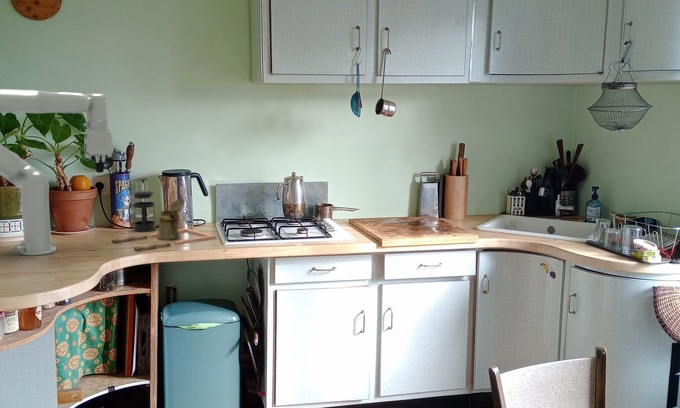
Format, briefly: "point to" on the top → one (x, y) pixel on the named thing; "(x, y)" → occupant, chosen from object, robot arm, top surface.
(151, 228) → the french press
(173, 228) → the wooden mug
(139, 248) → the walnut dock
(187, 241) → the frame
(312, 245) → the top surface
